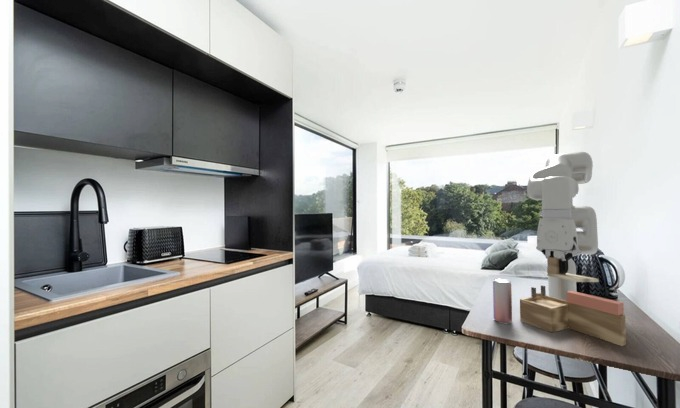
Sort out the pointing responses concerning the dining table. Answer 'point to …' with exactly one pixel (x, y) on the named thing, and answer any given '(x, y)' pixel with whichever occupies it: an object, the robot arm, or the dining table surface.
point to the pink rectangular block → (595, 302)
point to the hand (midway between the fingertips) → (557, 271)
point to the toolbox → (571, 317)
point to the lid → (554, 272)
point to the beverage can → (502, 301)
